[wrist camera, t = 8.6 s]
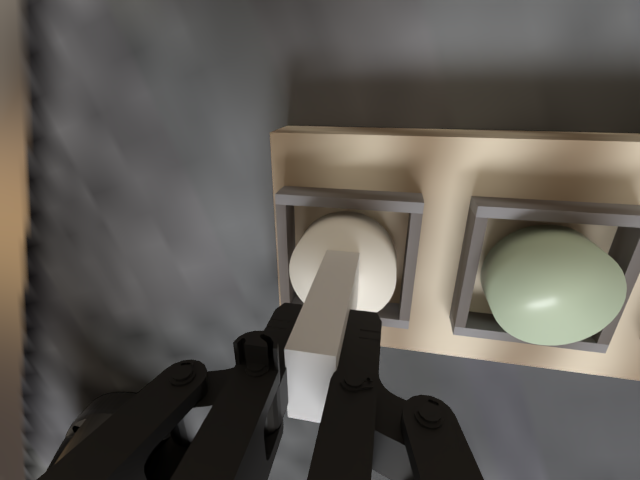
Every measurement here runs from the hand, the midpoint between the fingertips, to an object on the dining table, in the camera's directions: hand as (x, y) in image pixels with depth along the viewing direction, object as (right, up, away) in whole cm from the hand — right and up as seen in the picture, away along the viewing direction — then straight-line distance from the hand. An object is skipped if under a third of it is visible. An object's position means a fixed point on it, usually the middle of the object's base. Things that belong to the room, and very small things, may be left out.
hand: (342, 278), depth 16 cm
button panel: (+10, +2, +4) cm, 11 cm away
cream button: (0, +1, +2) cm, 2 cm away
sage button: (+9, 0, 0) cm, 9 cm away
